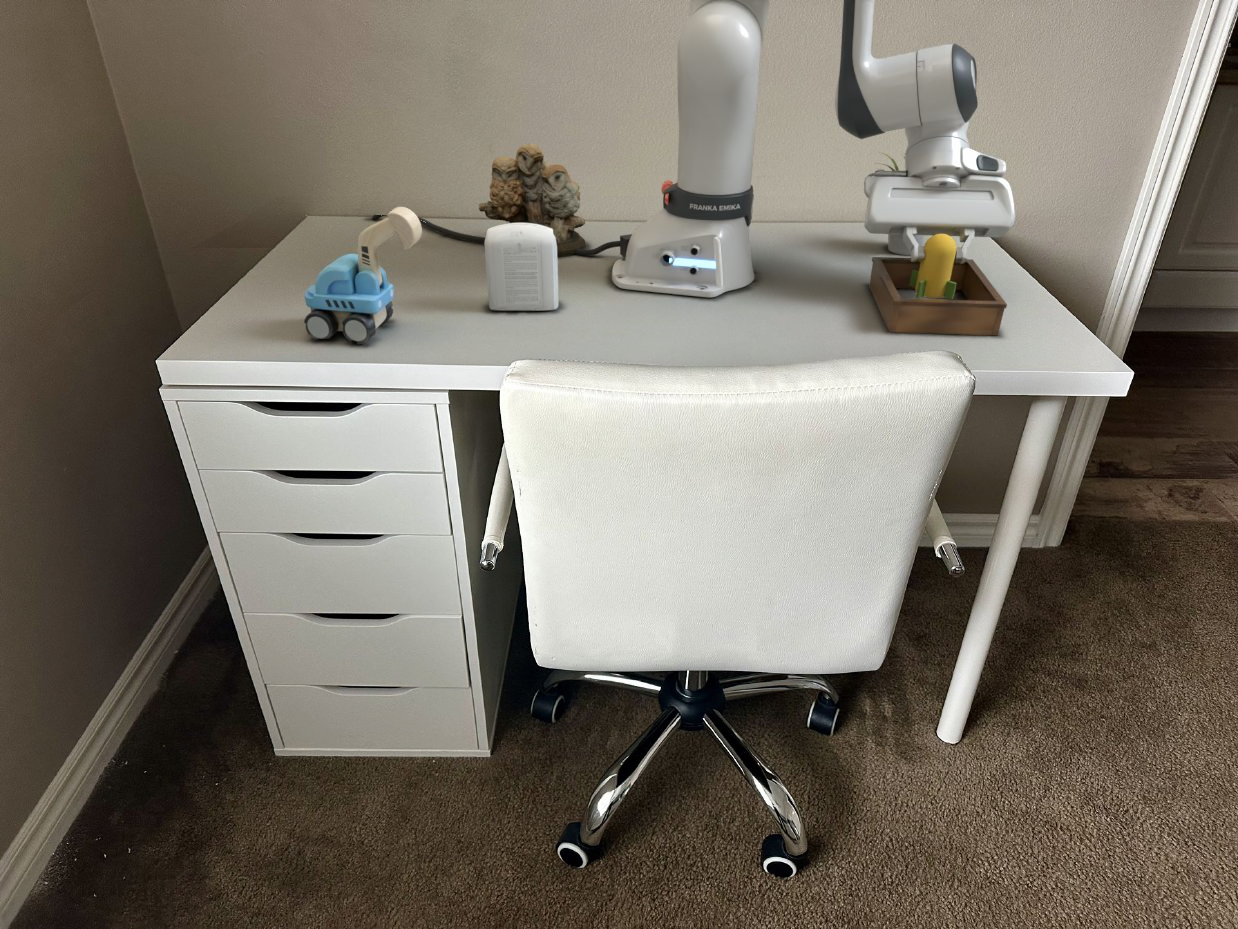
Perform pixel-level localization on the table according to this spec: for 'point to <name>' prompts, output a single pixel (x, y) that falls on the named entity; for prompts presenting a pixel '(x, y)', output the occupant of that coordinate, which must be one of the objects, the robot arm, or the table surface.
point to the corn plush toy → (936, 269)
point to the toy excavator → (359, 283)
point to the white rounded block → (521, 267)
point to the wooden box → (933, 314)
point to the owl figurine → (536, 196)
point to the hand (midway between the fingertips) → (939, 261)
